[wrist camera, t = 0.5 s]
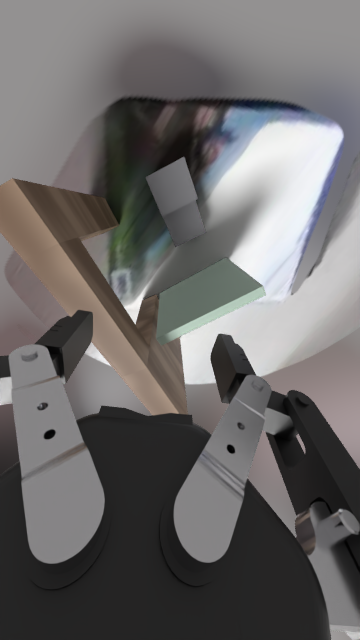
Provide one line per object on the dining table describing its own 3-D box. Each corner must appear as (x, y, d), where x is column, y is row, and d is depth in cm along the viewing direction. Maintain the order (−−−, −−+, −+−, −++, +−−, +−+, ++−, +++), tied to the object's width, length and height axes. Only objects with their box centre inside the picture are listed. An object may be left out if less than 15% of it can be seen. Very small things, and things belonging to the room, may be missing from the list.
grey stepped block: (180, 167, 28) (184, 156, 22) (202, 230, 32) (209, 234, 27) (149, 183, 29) (145, 177, 23) (174, 243, 33) (176, 249, 27)
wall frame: (104, 198, 29) (12, 178, 12) (179, 338, 42) (189, 427, 25) (87, 207, 29) (-26, 201, 12) (167, 343, 43) (168, 434, 26)
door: (230, 269, 35) (268, 303, 22) (166, 303, 38) (166, 352, 24) (225, 257, 34) (263, 286, 21) (159, 293, 36) (156, 338, 23)
